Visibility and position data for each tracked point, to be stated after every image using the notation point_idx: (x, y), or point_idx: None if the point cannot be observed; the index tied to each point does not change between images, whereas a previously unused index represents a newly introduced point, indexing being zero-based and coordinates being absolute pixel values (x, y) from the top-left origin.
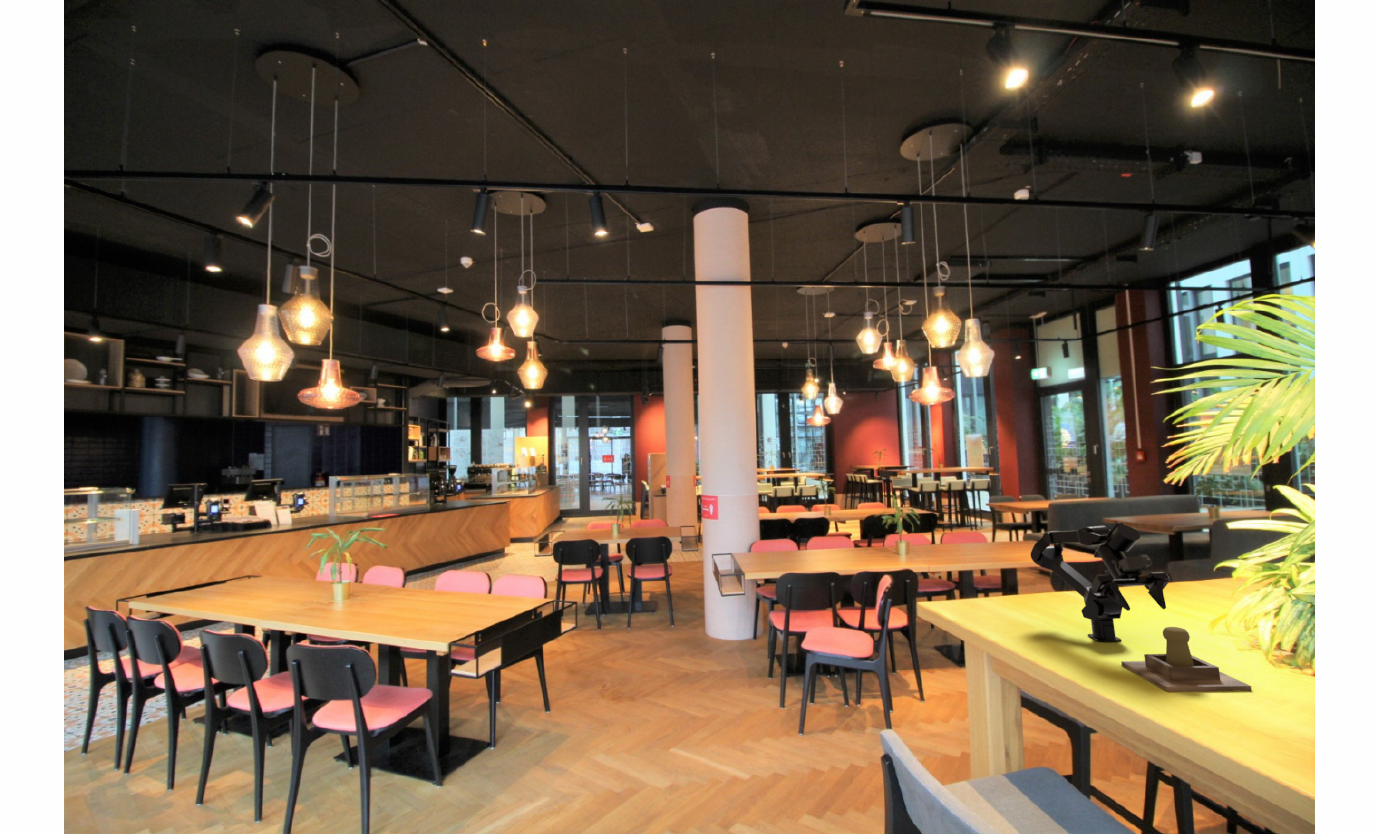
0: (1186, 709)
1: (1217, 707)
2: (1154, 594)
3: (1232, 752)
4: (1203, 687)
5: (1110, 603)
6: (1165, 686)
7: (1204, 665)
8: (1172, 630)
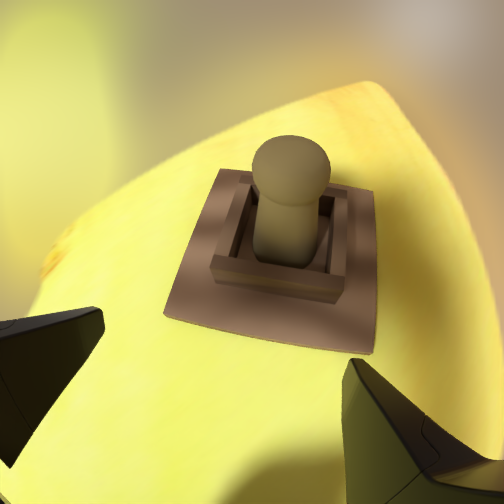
0: (380, 151)
1: (335, 145)
2: (18, 398)
3: (388, 101)
4: None
5: None
6: (372, 194)
7: (246, 201)
8: (316, 144)
